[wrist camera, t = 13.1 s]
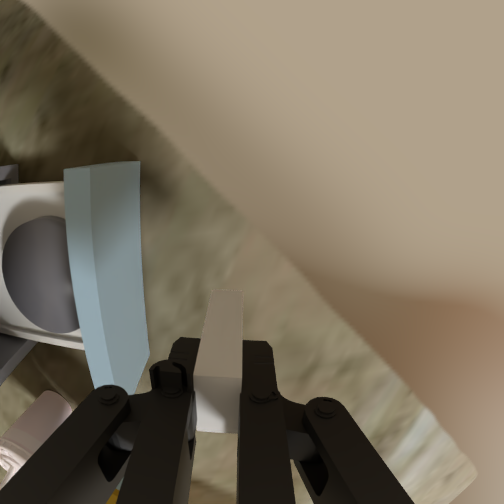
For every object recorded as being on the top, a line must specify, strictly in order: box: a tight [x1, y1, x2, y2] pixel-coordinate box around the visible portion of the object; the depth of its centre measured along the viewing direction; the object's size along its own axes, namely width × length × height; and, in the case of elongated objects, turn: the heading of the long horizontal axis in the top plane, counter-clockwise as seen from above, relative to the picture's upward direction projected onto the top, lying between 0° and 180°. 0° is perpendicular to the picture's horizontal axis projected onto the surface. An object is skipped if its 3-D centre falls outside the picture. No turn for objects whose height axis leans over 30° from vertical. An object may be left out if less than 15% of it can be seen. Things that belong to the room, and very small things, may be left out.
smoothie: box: [0, 391, 72, 490], centre depth 19 cm, size 6×6×14 cm
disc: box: [2, 216, 80, 333], centre depth 19 cm, size 8×8×2 cm
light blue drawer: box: [0, 161, 150, 395], centre depth 17 cm, size 18×14×7 cm
